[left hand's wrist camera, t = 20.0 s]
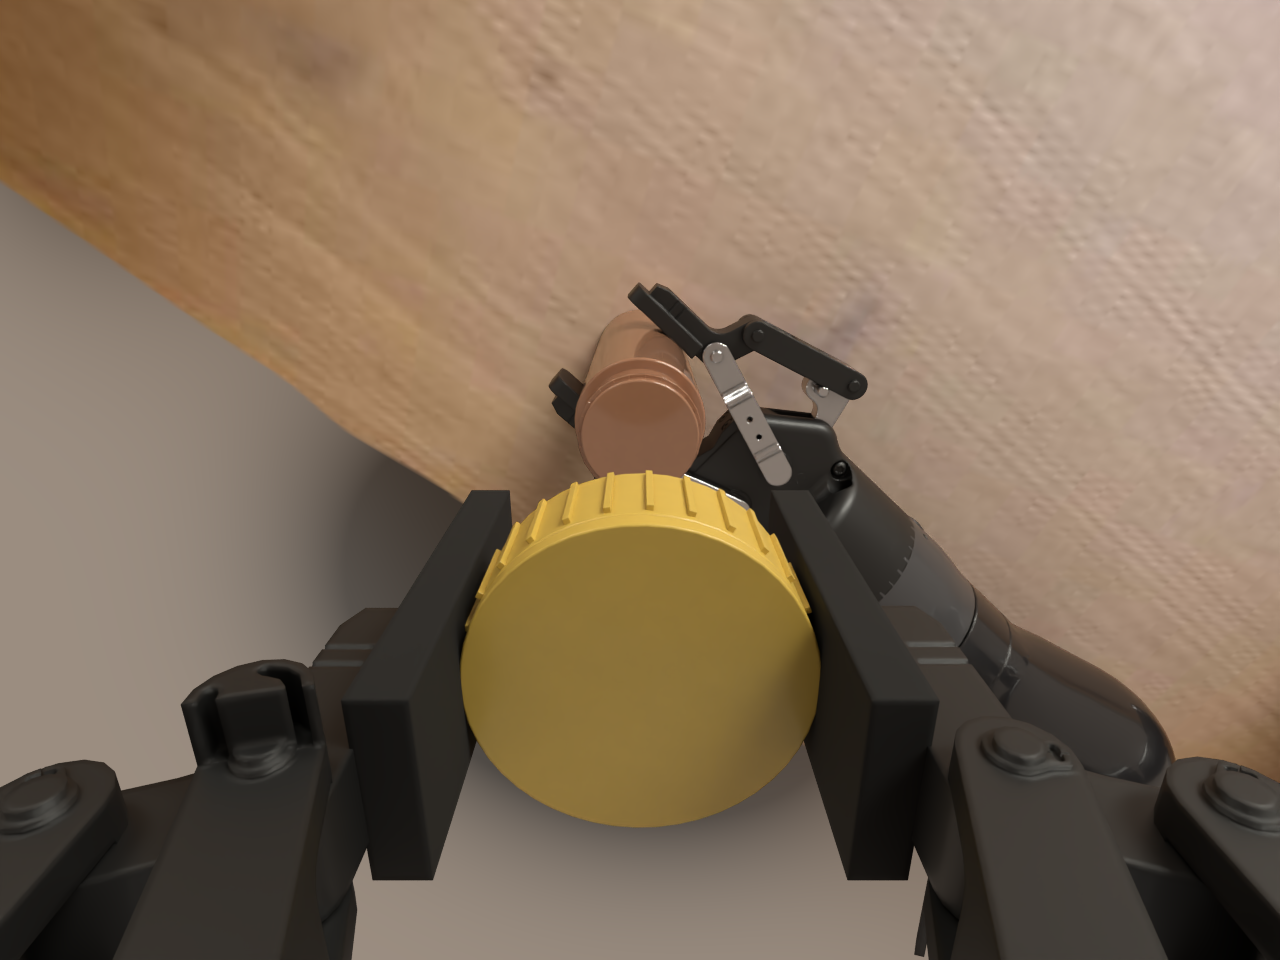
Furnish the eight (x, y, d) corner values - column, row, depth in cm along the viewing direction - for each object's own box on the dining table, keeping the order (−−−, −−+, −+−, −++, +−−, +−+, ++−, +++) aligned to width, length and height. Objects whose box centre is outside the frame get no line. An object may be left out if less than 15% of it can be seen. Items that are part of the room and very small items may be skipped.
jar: (621, 293, 36) (608, 342, 21) (698, 334, 37) (736, 408, 22) (583, 371, 37) (546, 467, 23) (658, 408, 38) (669, 525, 23)
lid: (498, 443, 11) (468, 490, 9) (832, 495, 11) (871, 550, 9) (471, 721, 13) (441, 809, 11) (758, 760, 13) (779, 851, 11)
